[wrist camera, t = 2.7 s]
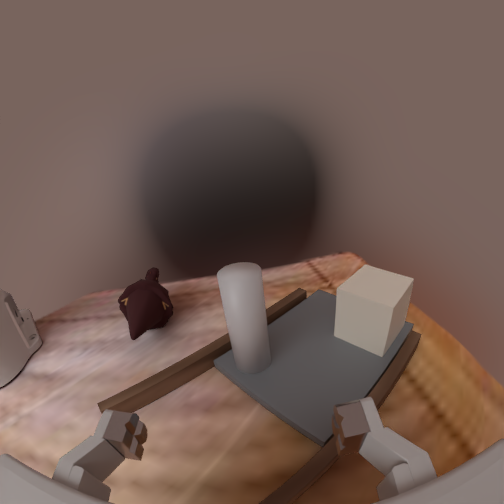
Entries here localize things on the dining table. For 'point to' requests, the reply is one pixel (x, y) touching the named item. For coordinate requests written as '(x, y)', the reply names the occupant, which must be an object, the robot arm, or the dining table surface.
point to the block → (372, 308)
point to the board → (295, 354)
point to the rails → (205, 359)
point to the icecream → (146, 304)
